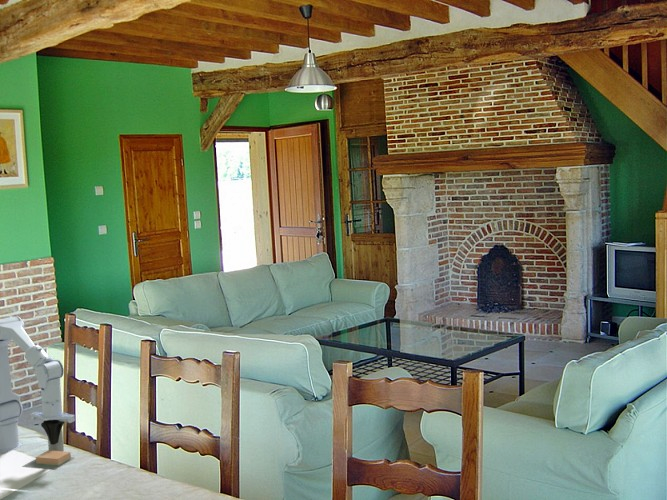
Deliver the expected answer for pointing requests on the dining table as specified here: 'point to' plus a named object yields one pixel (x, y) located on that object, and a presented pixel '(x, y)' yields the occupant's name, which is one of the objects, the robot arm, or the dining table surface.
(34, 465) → the mat
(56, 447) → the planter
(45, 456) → the tile
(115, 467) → the dining table surface
